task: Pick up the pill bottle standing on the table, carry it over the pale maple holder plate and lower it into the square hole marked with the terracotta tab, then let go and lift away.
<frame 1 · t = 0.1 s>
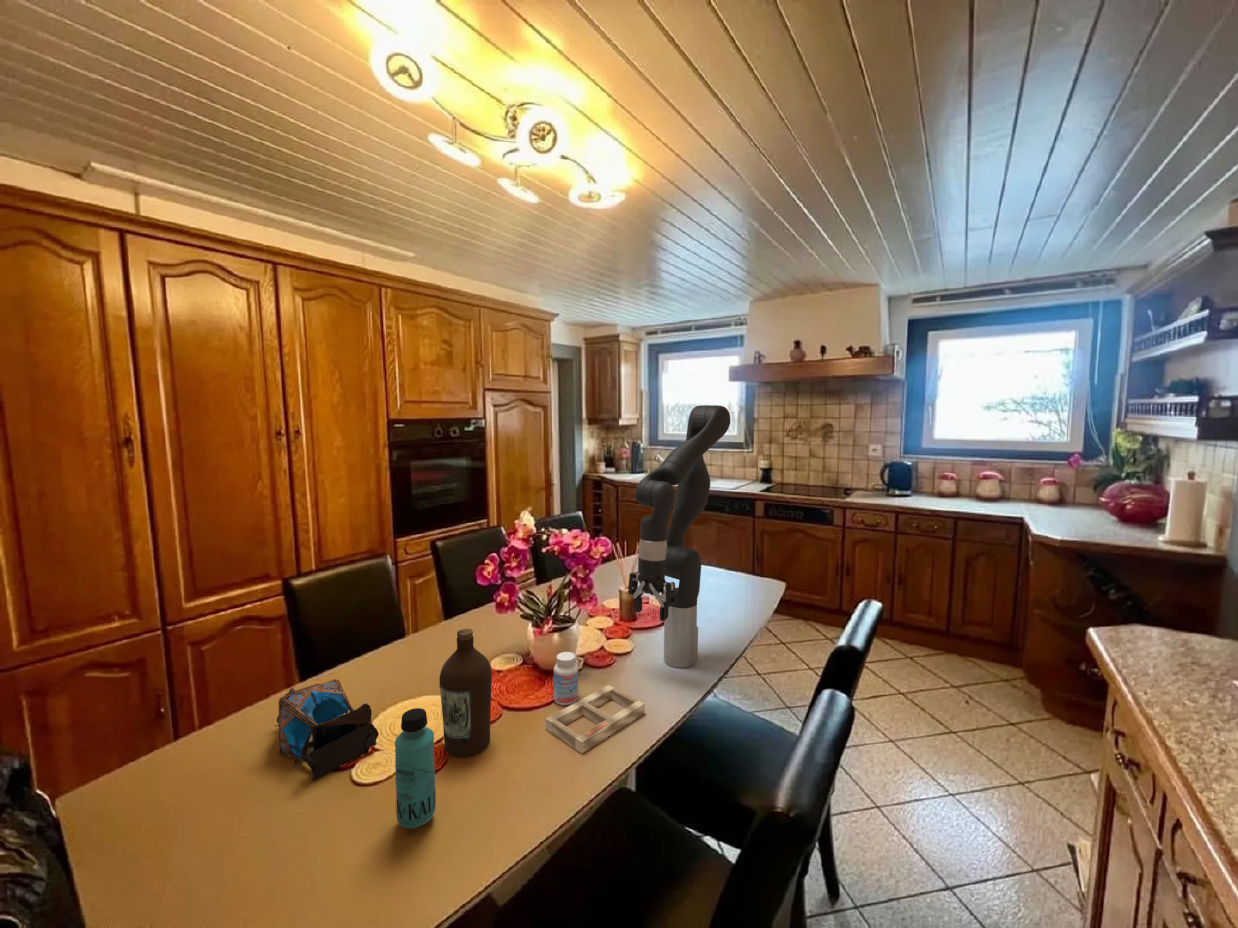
hand: (650, 615, 136), 17 cm above the table, tool pointing down, fingers open, 8 cm apart
holder plate: (596, 721, 118), on the table
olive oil: (467, 744, 110), on the table
pill bottle: (566, 700, 127), on the table
lantern: (320, 746, 109), on the table
beverage bottle: (417, 823, 88), on the table
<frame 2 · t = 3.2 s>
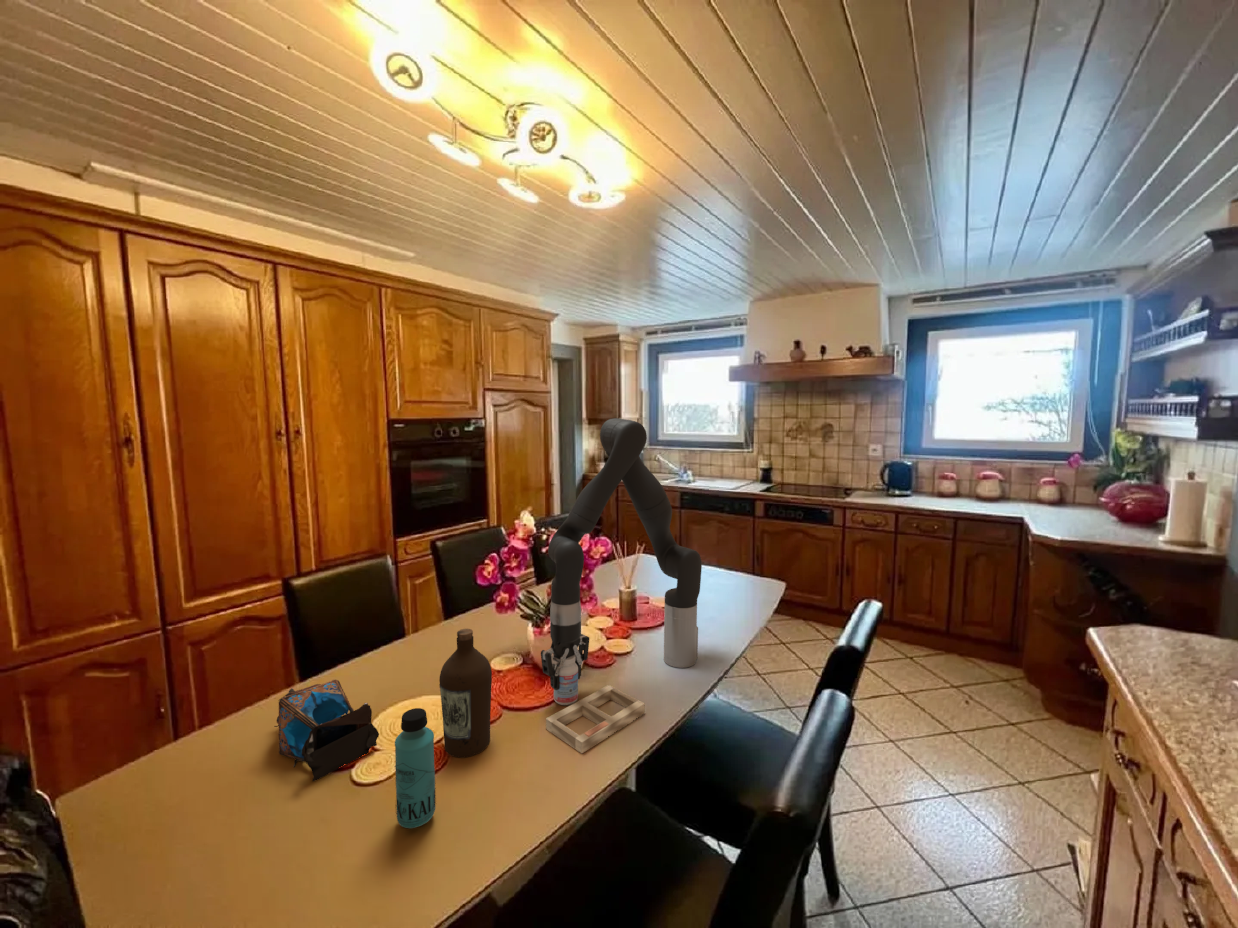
hand: (565, 683, 127), 4 cm above the table, tool pointing down, fingers closed on pill bottle, 6 cm apart
pill bottle: (566, 700, 127), on the table, touching gripper
everything else where it was.
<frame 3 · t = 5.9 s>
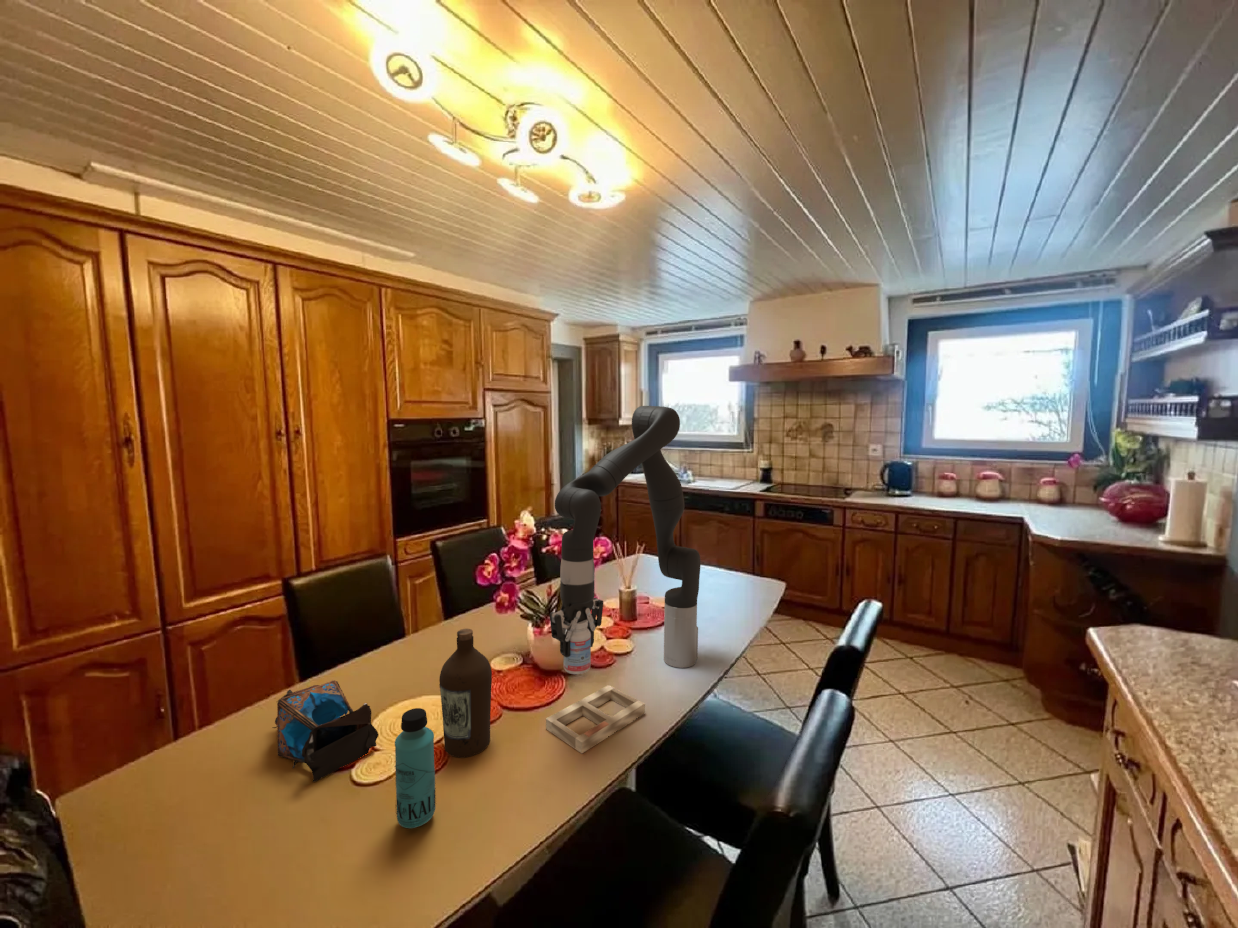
hand: (577, 650, 114), 18 cm above the table, tool pointing down, fingers closed on pill bottle, 6 cm apart
pill bottle: (577, 669, 115), point 13 cm above the table, touching gripper
everything else where it was.
when the fingers open (5 cm above the table, at t = 8.9 s): pill bottle drops 1 cm, resting in holder plate.
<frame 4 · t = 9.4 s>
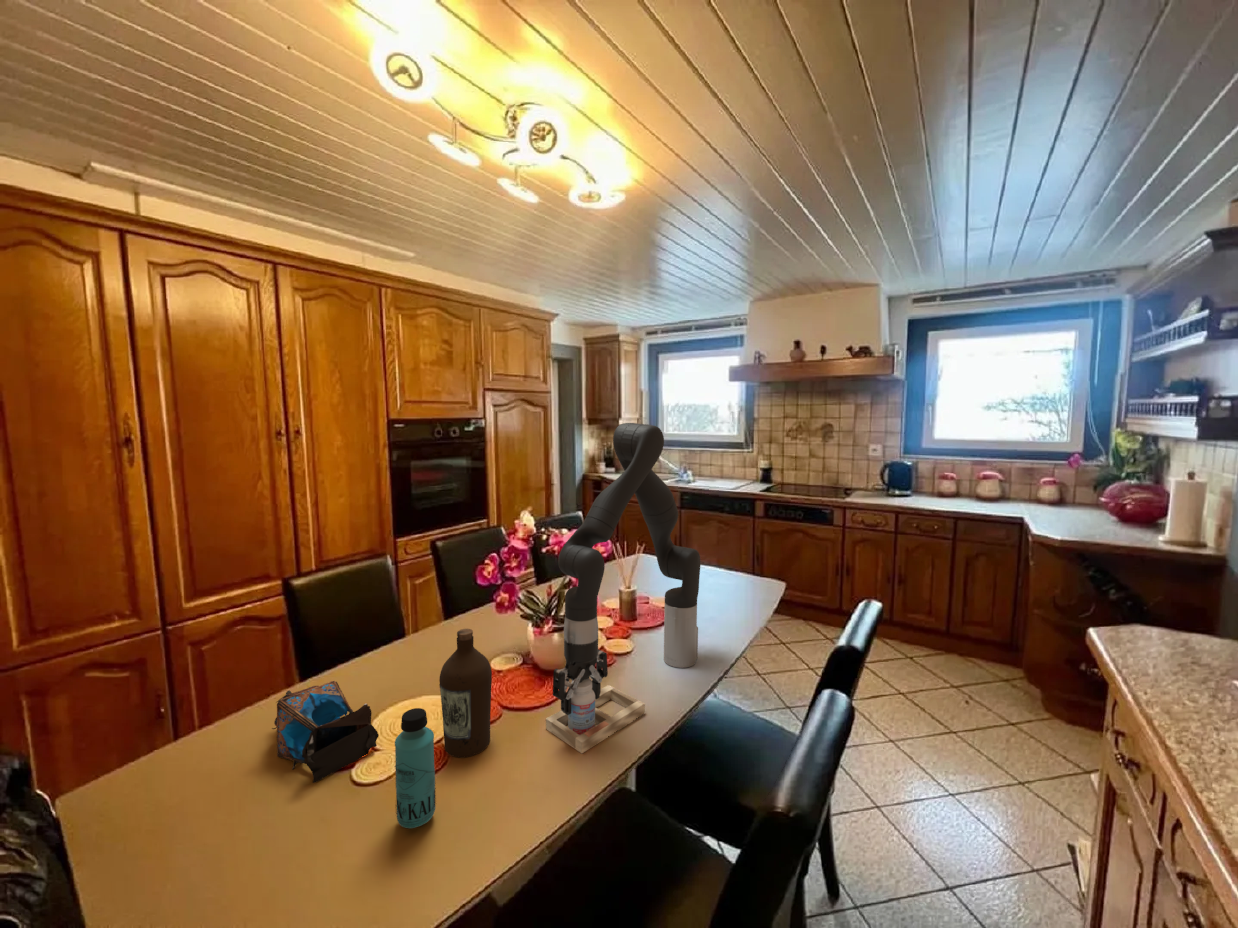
hand: (581, 705, 114), 6 cm above the table, tool pointing down, fingers open, 8 cm apart
pill bottle: (581, 730, 115), resting in holder plate
everything else where it was.
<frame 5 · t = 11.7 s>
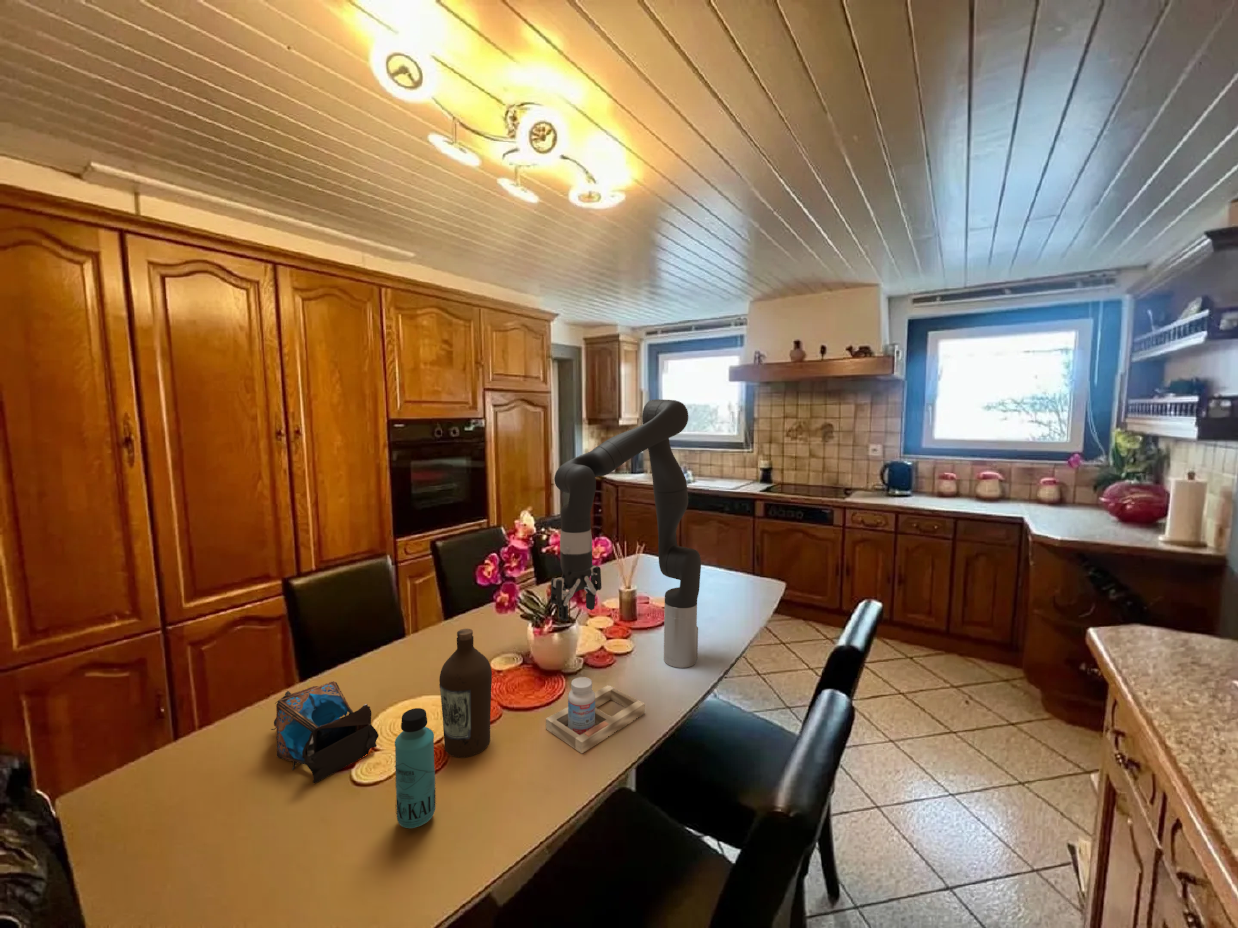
hand: (577, 614, 122), 23 cm above the table, tool pointing down, fingers open, 8 cm apart
nothing on the table moved.
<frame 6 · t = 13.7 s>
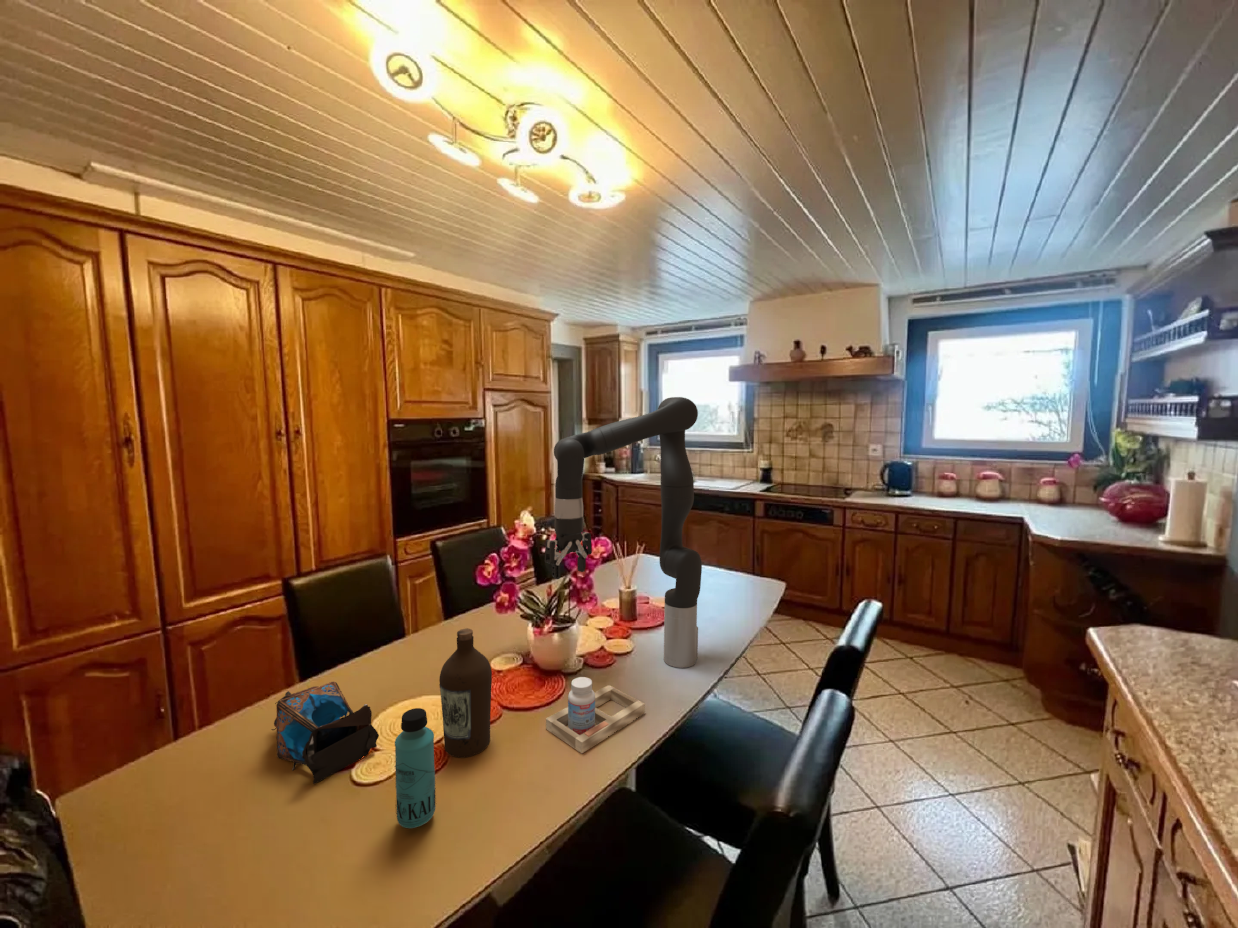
hand: (569, 574, 136), 28 cm above the table, tool pointing down, fingers open, 8 cm apart
at the end: pill bottle 0.2 cm from the target spot on the holder plate, point 0.0 cm above the holder plate's base; pill bottle tilted 0°; the gripper is holding nothing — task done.
